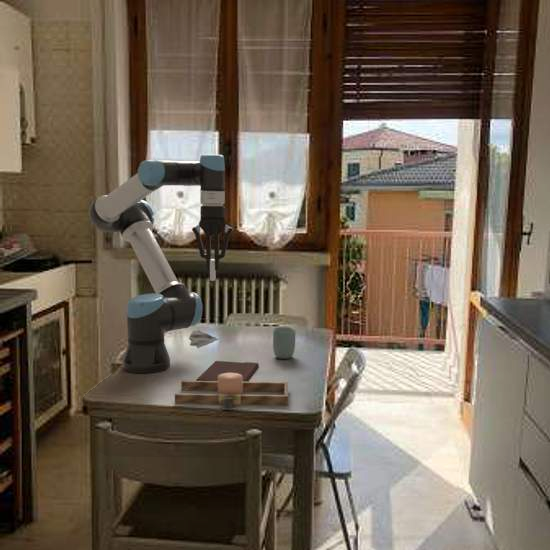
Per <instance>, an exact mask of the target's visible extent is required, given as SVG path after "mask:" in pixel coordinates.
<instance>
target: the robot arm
mask: <svg viewBox="0 0 550 550" xmlns="http://www.w3.org/2000/svg"><path fill="white" fill-rule="evenodd" d="M225 173H226V167H225V157H224V155H222V154H201V155H200V158H199V161H184V160H183V161H181V160H180V161H178V160H161V159H146V160H143V161H141V162H140V164H139V166H138V169H137V173H136V174H134V175H133V176H132V177H130V178H129V179H128V180H126V181H125V182H123V183H122V184H121V185H119V186H118V187H117V188H115V189H113V190H112V191H111V192H110V193H108V194H107V195H105V194H103V195H100V196H98V197H97V198H96V199H95V200H94V201H93V202H92V203H91V204H90V206H89V209H88V218H89V221H90V223H91V224H92V226H93V227H94V228H96V229H97V230H98V231H101V232H104V233H120V235H121V237H122V239H123V240H124V242H125V241H126V242H128V243H130V246H131V247H132V249H133V251H134V254H135V256H136V257H137V259H138V261H139V263H140V265H141V267H142V269H143V271H144V273H145V274H146V276H147V278H148V280H149V282H150V284H151V287H152V289H153V291H154V292H155V293H154V292H152V293H144V294H140V295H136V296H133V297H132V298H131V299H129V300H128V302H127V304H126V305H127V307H126V309H127V310H126V317H127V319H126V320H127V347H126V350H125V352H124V353H125V354H124V356H123V360H122V368H123V370H124V371H125V372H128V373H133V374H151V373H158V372H162V371H165V370H168V369H169V368H170V367H171V358H170V355H169V352H168V349H167V346H166V343H165V333H167V332H171V331H172V332H173V331H177V330H181V329H188V328H190V327H193V326H195V325H197V324H198V323H199V322H200V321H201V318H202V315H203V303H202V299H201V297H200V295H198V293H196V292H193V291H190V292H189V290H188V288H187V286H186V285H185V284H184V283H182V282H180V281H178V279H177V277H176V275H175V273H174V271H173V270H172V267H171V266H170V264H169V262H168V260H167V258H166V256H165V255H164V252H163V250H162V248H161V247H160V245H159V243H158V241H157V239H156V236H154V233H153V228H154V221H155V217H154V214H155V213H154V211H153V208H152V207H151V205H150V204H149V203H148V202H147V201H145V200H144V199H145V198H147V197H148V196H149V195H151V194H153V193H154V192H155V191H157V190H158V189H160V188H162V187H164V186H184V187H186V186H187V187H193V186H196V187H197V186H200V193H199V194H200V195H199V197H200V198H199V199H200V205H201V206H200V209H199V210H200V213H199V214H200V220H199V222H198V225H196V226H193V227H192V228H191V230H192V232H193V234H194V236H195V239H196V244H197V248H198V251H199V255H200V258H203V259H204V260H206V262H205V263H206V266H205V267H206V271H207V270H208V271H209V281H211V282H214V281H215V280H216V279H217V277H216V272H217V271H218V270H219V269H220V260H221V259H224V258H225V256H226V252H227V247H228V244H229V239H230V235H231V233H232V232H233V231H234V228H233V227H230V226H229V225H228V224H227V221H226V219H225V217H226V216H225V213H226V210H225V209H226V208H225V207H226V206H224V204H225V203H226V202H225V201H226V199H225V197H226V195H225V192H226V189H225V182H226V181H225V180H226V179H225V178H226V177H225V176H226V175H225ZM224 229H225V230H224ZM201 230H202V232H203V233H204V234H205V238H206V239H205V240H206V241H205V249H206V250H205V249H204V244H203V239H202V236H201V233H200V232H201ZM223 231H224V232H225V236H224V239H223V243H222V247H221V251H220V235H221V233H222V232H223ZM212 235H213V237H214V238H213V239H214V241H213V242H214V243H213V244H214V258H212ZM215 282H216V281H215Z"/></svg>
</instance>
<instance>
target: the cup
mask: <svg viewBox="0 0 550 550" xmlns="http://www.w3.org/2000/svg"><path fill="white" fill-rule="evenodd" d="M272 348H273V353H274V355H275V357H276V358H277V359H280V360H288V359H291V358H292V357H293V355H294V353H295V349H296V329H295V328H293V327H289V326H288V327H287V326H279V327H275V328H273V329H272Z"/></svg>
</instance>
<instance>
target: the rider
mask: <svg viewBox="0 0 550 550" xmlns="http://www.w3.org/2000/svg"><path fill="white" fill-rule="evenodd" d="M242 380H243V376H242V375H241V374H238V373H223V374H220V375H218V391H217V394H240V395H243V391H242Z"/></svg>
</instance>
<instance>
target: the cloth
mask: <svg viewBox="0 0 550 550" xmlns="http://www.w3.org/2000/svg"><path fill="white" fill-rule="evenodd" d="M188 339H189V340H191V341H190V344H189V346H192V347H196V348H197V349H199V348H201V347H204V346H208V345H210V344H212V343H214V342H216V341H218V340H219V338H217V337H216V336H213V335H212V334H211V335H210V334H208V333H205V332H204V331H202V330H199V329H197V330H193V331H192V332H191V334H190V335H189V337H188Z"/></svg>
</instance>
